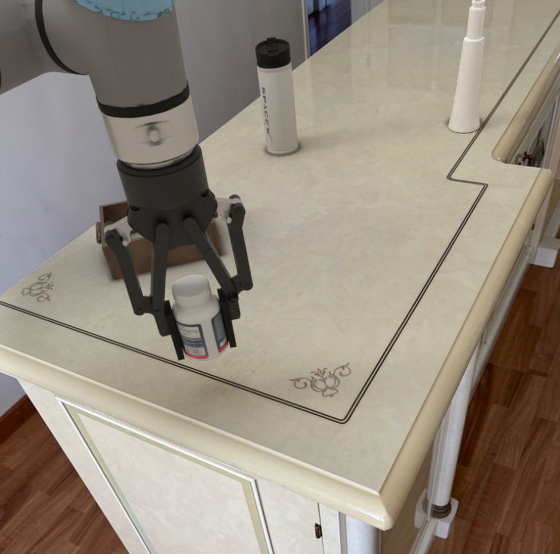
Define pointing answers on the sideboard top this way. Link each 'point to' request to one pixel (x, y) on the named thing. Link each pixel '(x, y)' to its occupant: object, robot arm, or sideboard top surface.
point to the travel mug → (277, 96)
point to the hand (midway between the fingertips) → (205, 345)
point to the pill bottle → (198, 319)
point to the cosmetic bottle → (470, 74)
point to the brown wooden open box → (146, 243)
